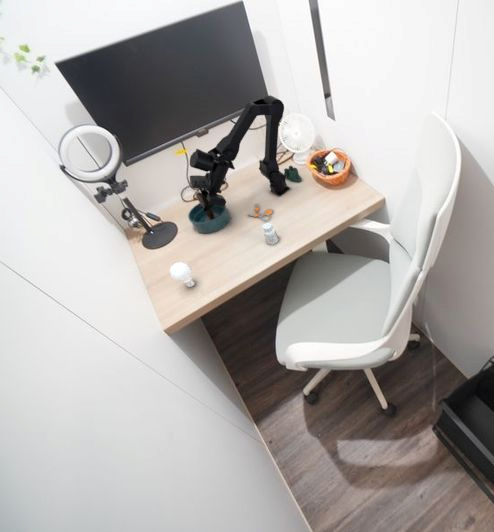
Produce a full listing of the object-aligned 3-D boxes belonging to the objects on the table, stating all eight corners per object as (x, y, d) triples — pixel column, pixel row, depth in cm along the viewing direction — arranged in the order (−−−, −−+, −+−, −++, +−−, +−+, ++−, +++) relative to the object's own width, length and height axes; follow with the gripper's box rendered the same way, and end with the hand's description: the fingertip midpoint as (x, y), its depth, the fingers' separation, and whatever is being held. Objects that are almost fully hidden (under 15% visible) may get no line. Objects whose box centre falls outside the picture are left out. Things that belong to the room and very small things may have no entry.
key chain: (277, 213, 135) (276, 211, 134) (264, 223, 131) (264, 221, 131) (256, 204, 140) (256, 202, 140) (244, 213, 137) (243, 212, 136)
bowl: (217, 205, 143) (211, 195, 138) (238, 218, 136) (232, 207, 131) (188, 225, 136) (181, 214, 131) (208, 239, 129) (201, 228, 124)
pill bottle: (280, 238, 125) (275, 223, 119) (273, 245, 122) (267, 231, 116) (272, 235, 126) (266, 220, 120) (265, 242, 124) (258, 227, 118)
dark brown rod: (216, 215, 137) (200, 186, 126) (224, 220, 134) (208, 191, 123) (204, 223, 135) (187, 194, 123) (212, 228, 132) (195, 199, 120)
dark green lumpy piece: (304, 179, 149) (301, 170, 145) (297, 184, 147) (294, 174, 144) (289, 172, 155) (286, 162, 151) (282, 176, 153) (279, 167, 149)
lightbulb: (185, 279, 116) (169, 259, 107) (202, 276, 116) (187, 256, 107) (180, 293, 112) (163, 273, 103) (198, 291, 111) (182, 271, 103)
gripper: (189, 158, 123) (176, 193, 128) (203, 178, 112) (188, 216, 117) (217, 167, 131) (204, 200, 136) (233, 187, 120) (218, 222, 125)
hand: (203, 209), depth 128 cm, fingers closed on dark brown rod, 2 cm apart
